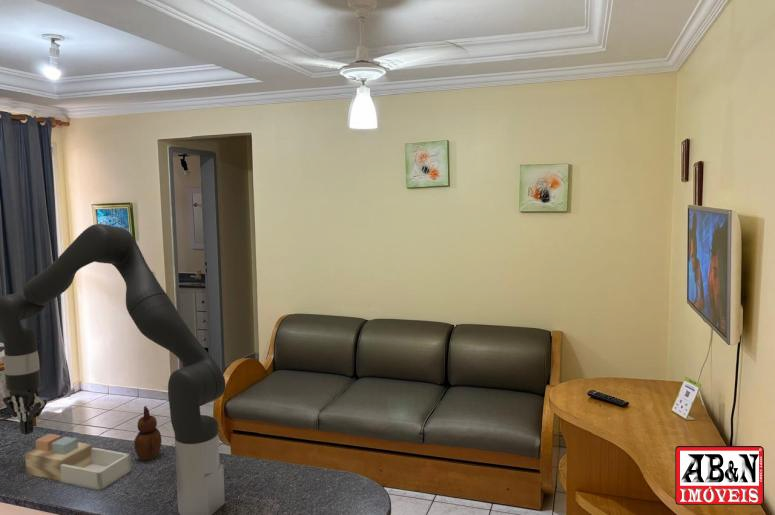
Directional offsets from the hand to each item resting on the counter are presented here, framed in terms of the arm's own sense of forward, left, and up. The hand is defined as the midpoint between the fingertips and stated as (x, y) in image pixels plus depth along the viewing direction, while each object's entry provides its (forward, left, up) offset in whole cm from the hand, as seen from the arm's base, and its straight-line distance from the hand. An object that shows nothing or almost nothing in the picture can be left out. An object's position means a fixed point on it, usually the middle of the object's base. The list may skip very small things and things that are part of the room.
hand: (27, 433), depth 144 cm
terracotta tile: (-7, 0, -3) cm, 8 cm away
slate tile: (-13, 0, -3) cm, 13 cm away
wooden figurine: (-28, -12, -8) cm, 31 cm away
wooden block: (-11, 0, -8) cm, 13 cm away
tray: (-23, 0, -8) cm, 24 cm away
